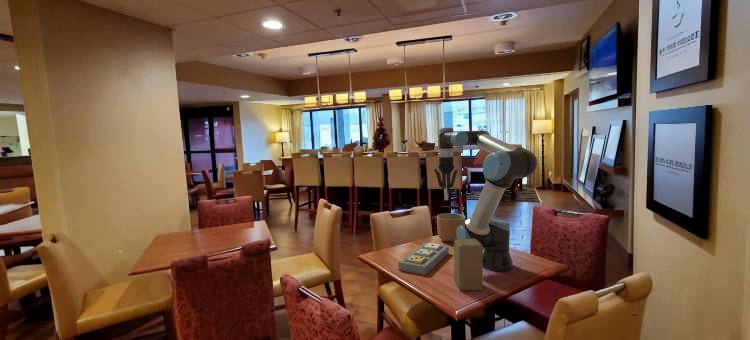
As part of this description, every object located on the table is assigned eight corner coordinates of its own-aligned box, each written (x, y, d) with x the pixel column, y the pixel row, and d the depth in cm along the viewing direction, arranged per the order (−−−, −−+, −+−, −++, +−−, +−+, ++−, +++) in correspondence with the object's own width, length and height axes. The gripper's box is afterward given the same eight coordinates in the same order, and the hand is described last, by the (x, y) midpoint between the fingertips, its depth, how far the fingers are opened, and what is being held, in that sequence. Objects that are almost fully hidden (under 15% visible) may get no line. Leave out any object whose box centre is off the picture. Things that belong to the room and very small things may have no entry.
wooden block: (475, 281, 162) (476, 237, 160) (483, 291, 152) (483, 245, 150) (453, 282, 161) (453, 238, 159) (459, 291, 152) (459, 245, 149)
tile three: (425, 264, 179) (425, 256, 179) (420, 269, 173) (420, 261, 173) (412, 262, 183) (412, 254, 182) (407, 267, 177) (407, 258, 176)
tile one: (440, 251, 198) (440, 244, 198) (436, 255, 192) (436, 247, 192) (428, 249, 202) (428, 242, 201) (424, 253, 196) (424, 246, 195)
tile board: (448, 253, 199) (448, 246, 199) (425, 275, 170) (425, 267, 169) (424, 249, 206) (424, 242, 205) (398, 270, 177) (398, 262, 176)
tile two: (433, 257, 189) (433, 250, 188) (428, 262, 183) (428, 254, 182) (421, 255, 192) (421, 248, 192) (416, 260, 186) (416, 252, 186)
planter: (471, 241, 219) (471, 217, 217) (450, 246, 210) (450, 221, 208) (452, 234, 233) (452, 211, 232) (431, 239, 225) (431, 215, 223)
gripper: (460, 156, 194) (460, 199, 196) (436, 155, 200) (437, 197, 203) (456, 157, 187) (456, 201, 190) (432, 156, 194) (432, 200, 196)
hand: (446, 199), depth 196 cm, fingers closed
